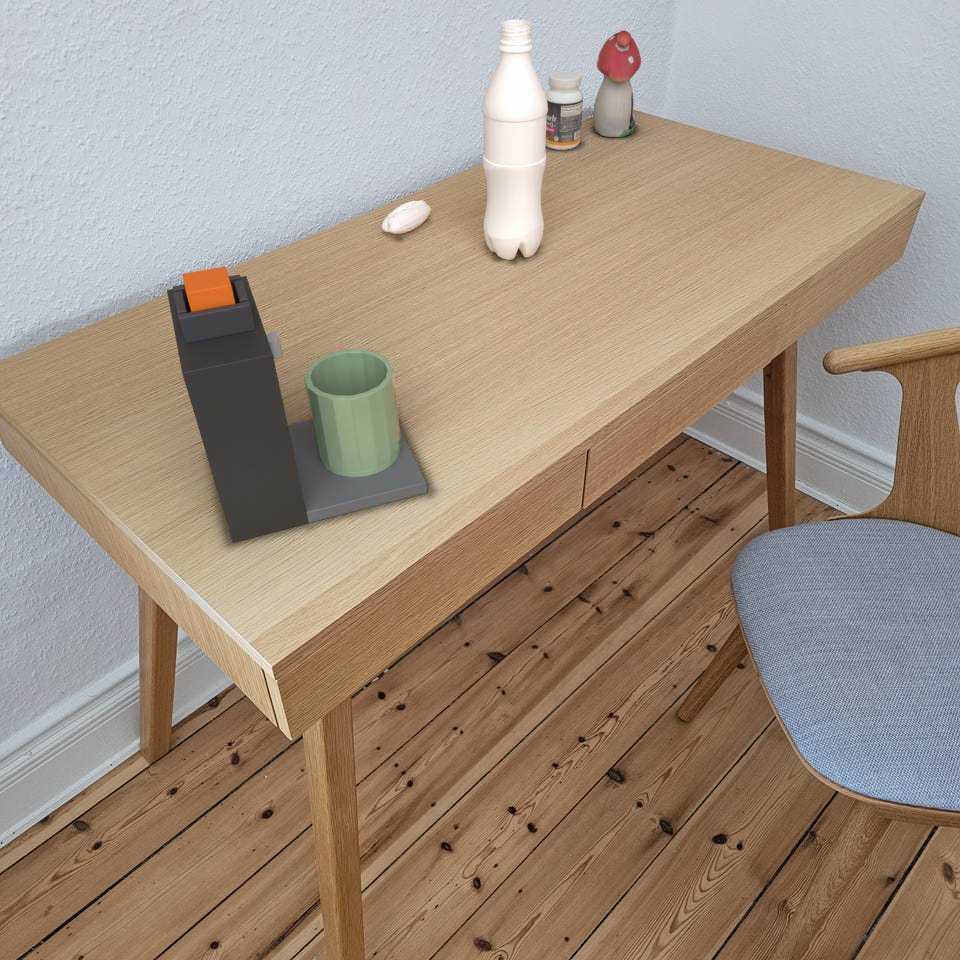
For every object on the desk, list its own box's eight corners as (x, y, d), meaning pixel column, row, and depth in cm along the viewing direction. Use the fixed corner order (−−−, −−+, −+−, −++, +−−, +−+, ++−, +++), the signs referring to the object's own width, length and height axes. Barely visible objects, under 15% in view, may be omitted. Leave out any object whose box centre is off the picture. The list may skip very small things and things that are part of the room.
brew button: (194, 321, 59) (186, 293, 57) (189, 301, 61) (182, 273, 59) (237, 313, 59) (231, 284, 58) (231, 293, 62) (225, 265, 60)
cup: (328, 485, 70) (314, 407, 64) (311, 436, 74) (296, 359, 69) (410, 465, 71) (403, 387, 66) (388, 418, 76) (379, 342, 71)
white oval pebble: (379, 236, 107) (376, 215, 105) (418, 213, 111) (416, 192, 110) (398, 242, 105) (396, 221, 103) (437, 219, 110) (436, 198, 108)
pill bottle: (536, 141, 130) (537, 72, 124) (568, 135, 132) (572, 66, 125) (554, 153, 126) (556, 83, 120) (587, 147, 128) (591, 77, 122)
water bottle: (508, 232, 107) (509, 11, 90) (554, 248, 103) (565, 21, 87) (471, 253, 103) (466, 25, 86) (518, 270, 99) (522, 36, 83)
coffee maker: (232, 543, 66) (174, 347, 55) (213, 452, 75) (159, 265, 63) (427, 493, 70) (412, 300, 59) (388, 412, 79) (368, 229, 67)
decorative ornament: (626, 143, 129) (636, 35, 119) (584, 138, 131) (591, 31, 121) (640, 123, 135) (651, 19, 126) (600, 118, 137) (608, 16, 127)
